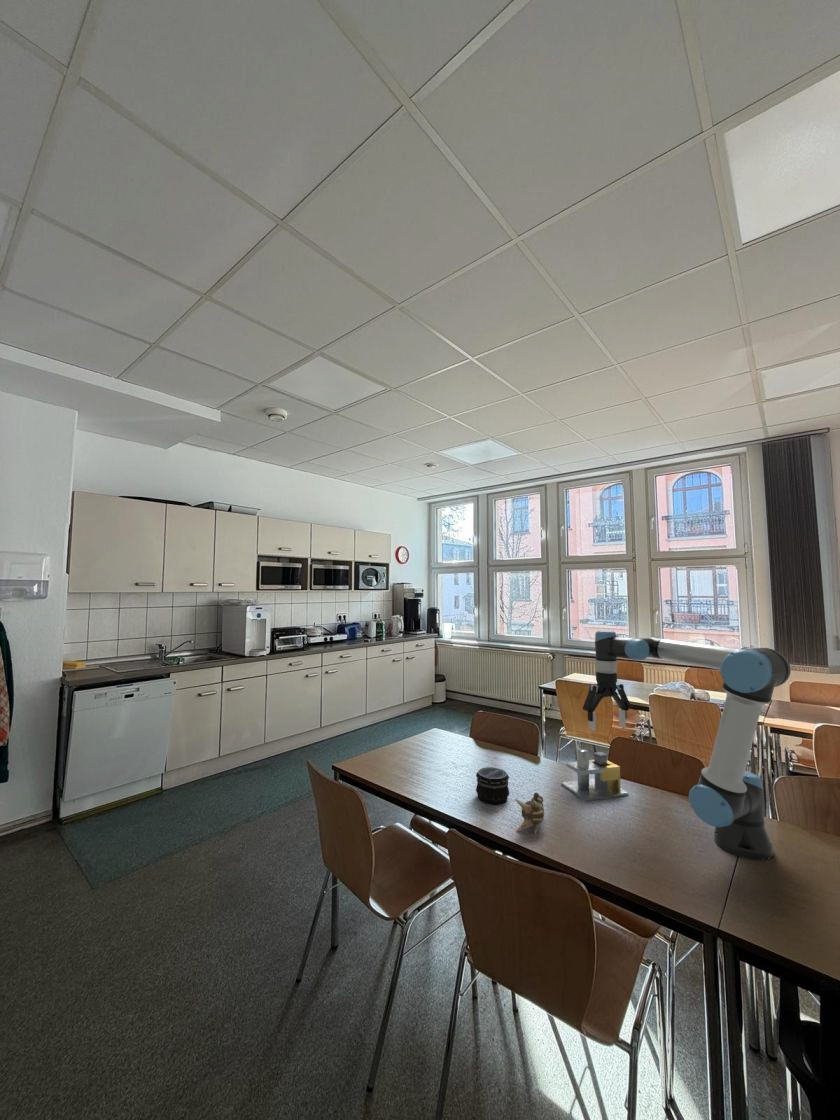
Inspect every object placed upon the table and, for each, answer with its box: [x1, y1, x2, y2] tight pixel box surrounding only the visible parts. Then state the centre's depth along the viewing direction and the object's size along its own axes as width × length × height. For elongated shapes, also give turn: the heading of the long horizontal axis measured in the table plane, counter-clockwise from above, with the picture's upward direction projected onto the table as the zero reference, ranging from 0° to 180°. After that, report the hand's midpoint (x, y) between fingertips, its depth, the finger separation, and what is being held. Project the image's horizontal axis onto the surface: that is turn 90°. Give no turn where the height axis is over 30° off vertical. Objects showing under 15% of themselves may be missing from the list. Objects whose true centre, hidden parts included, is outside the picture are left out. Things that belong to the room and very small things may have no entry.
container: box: [475, 766, 510, 806], centre depth 174 cm, size 13×13×10 cm
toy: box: [514, 792, 546, 835], centre depth 154 cm, size 11×8×15 cm
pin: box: [593, 751, 608, 788], centre depth 185 cm, size 4×4×13 cm
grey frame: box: [560, 748, 629, 802], centre depth 184 cm, size 16×20×16 cm
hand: (607, 728), depth 170 cm, fingers open, 13 cm apart
